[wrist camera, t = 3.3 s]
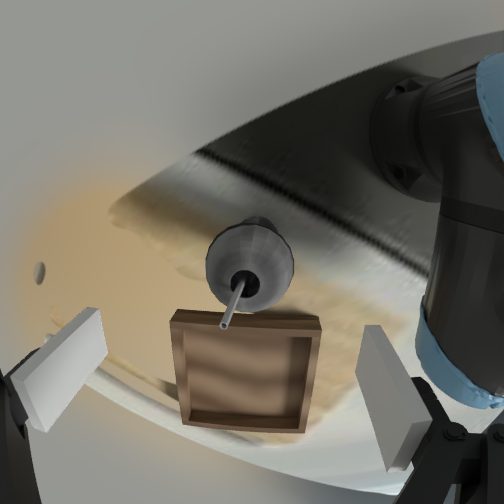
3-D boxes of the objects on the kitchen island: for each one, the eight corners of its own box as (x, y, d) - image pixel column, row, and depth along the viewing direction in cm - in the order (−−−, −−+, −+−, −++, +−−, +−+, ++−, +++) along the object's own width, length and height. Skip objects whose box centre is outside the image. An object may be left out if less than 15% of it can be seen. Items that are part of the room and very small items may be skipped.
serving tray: (177, 308, 40) (169, 321, 37) (318, 316, 39) (321, 330, 36) (187, 409, 45) (182, 424, 42) (303, 417, 44) (304, 433, 41)
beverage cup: (301, 236, 37) (328, 314, 18) (257, 278, 39) (239, 384, 19) (257, 191, 36) (235, 222, 17) (213, 235, 38) (152, 309, 18)
